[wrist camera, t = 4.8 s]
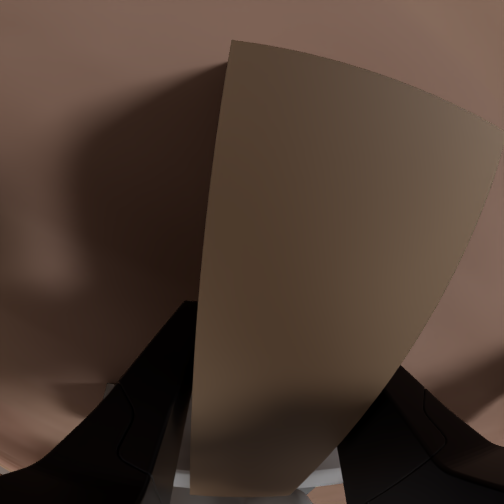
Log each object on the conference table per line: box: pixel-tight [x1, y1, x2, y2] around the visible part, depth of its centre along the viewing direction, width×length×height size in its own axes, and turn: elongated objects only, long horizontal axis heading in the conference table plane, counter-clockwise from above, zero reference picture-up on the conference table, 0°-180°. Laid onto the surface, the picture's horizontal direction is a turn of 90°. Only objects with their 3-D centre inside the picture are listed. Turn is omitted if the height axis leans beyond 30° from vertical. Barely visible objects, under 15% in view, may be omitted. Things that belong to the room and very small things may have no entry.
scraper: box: [103, 40, 504, 497], centre depth 8 cm, size 11×14×4 cm
